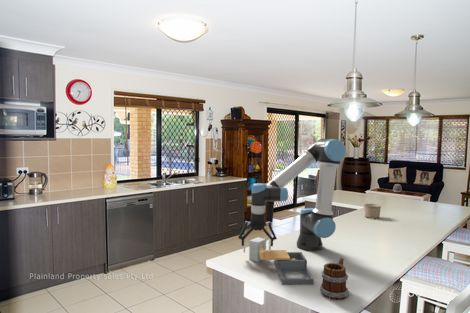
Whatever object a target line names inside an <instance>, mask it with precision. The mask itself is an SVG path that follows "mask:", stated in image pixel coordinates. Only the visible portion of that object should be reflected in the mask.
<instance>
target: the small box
mask: <svg viewBox="0 0 470 313" xmlns="http://www.w3.org/2000/svg"><path fill="white" fill-rule="evenodd" d="M248 243H249V246H248V247H249V248H248V249H249V250H248V251H249V252H248V256H249V261H253V262H255V263H258V262H260V261H262V260H261V257H260V254H259V246H262V248H263V250H267V239H266V238H262V237H258V236H257V237H255V238H253V239H250V240H249V242H248Z"/></svg>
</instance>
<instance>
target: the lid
mask: <svg viewBox="0 0 470 313" xmlns="http://www.w3.org/2000/svg"><path fill="white" fill-rule="evenodd" d="M287 252H288V251H287V250H286V249H271V250H269V249H266V250H263V248H262V246H259V254H260V257H261V261H274V260H290V257H289V255H288V253H287Z"/></svg>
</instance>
